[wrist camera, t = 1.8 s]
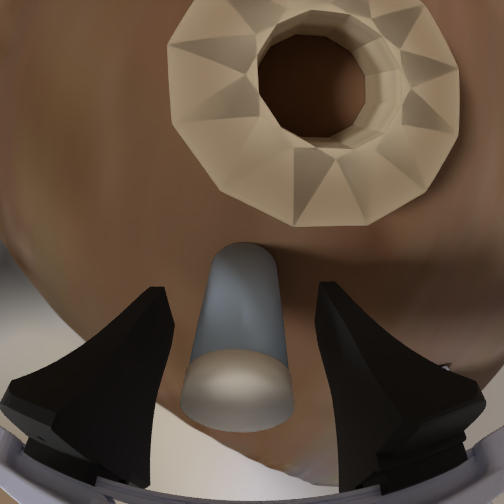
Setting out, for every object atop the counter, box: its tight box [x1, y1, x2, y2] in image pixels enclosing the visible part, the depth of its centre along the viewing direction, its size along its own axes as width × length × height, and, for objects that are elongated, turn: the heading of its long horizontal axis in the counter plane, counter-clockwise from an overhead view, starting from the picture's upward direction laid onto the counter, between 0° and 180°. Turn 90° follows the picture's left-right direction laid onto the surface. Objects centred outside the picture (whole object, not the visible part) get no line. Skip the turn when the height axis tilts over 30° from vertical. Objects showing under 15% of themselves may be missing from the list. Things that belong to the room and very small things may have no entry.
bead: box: [167, 0, 460, 227], centre depth 8 cm, size 9×9×3 cm
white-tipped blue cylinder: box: [180, 242, 294, 432], centre depth 10 cm, size 3×3×7 cm
